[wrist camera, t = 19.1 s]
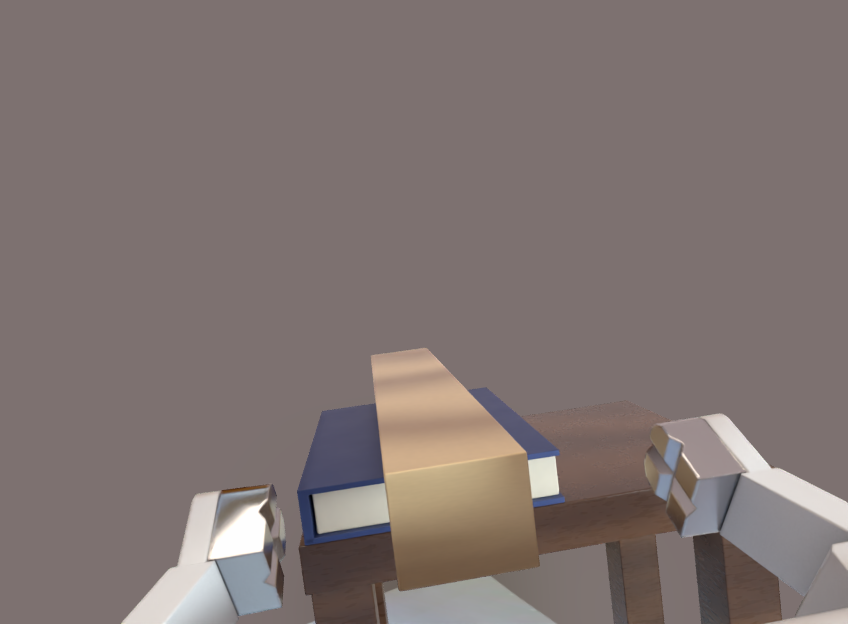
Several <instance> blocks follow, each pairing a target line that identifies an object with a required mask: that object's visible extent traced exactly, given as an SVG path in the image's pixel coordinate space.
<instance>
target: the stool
mask: <svg viewBox="0 0 848 624" xmlns="http://www.w3.org/2000/svg"><path fill="white" fill-rule="evenodd" d="M521 418H522V419H524V420H525V421H526V422H527V423H528V424H529V425H531V426H532V427H533V428H534V429H535V430H537V431H538V432H539V433H540V434H541V435H542V436H544V437H545V438H546V439H547V440H548V441H549V442H551V443H552V444H553V445H554V446H555V447H556V448H558V449H559V453H560V455H558V456H555V459H556V468H557V477H558V485H559V492H560V493H561V494H562V495H563V496H564V498H565V502H564V503H558V504H552V505H546V506H540V507H534V508H533V510H534V518H535V527H536V536H537V545H538V553H539V555H541V554H546V553H552V552H558V551H563V550H569V549H575V548H581V547H586V546H592V545H598V544H603V543H605V544H606V553H607V562H608V571H609V581H610V590H611V600H612V609H613V618H614V624H664V615H663V606H662V596H661V586H660V577H659V566H658V557H657V546H656V536H655V534H660V533H666V532H672V531H677V530H676V528H675V527H674V525H673V523H672V522H671V520H670V518H669V517H668V515H667V514H666V512H665V510H666V504H667V501H665V500H663V499H662V498H660V497H659V496H657V495H655V494H654V492H653V490H652V488H651V487H650V485H649V482H648V480H647V477H646V474H645V467H644V459H645V453H646V451H647V450H648V449H649V448H650V447H651V446H652V445H653V442H652V441H651V439H650V438H649V435H650V430H651V428H652V427H653V425H654V424H658V423H664V422H670V421H671V420H669V419H667V418H664V417H662V416H660V415H658V414H655V413H653V412H651V411H649V410H647V409H644V408H642V407H640V406H638V405H635V404H633V403H631V402H628V401H621V402H614V403H607V404H601V405H595V406H587V407H581V408H574V409H568V410H562V411H554V412H548V413H541V414H534V415H528V416H522V417H521ZM768 465H769V464H768ZM769 466H770V467H771V468H775V467H774V466H771V465H769ZM693 542H694V552H695V562H696V572H697V583H698V593H699V603H700V614H701V624H765V623H770V622H775V621H780V620H782V615H781V604H780V594H779V581H778V577H777V576H775V575H774V574H773V573H771V572H770V571H769V570H767V569H766V568H765V567H763V566H762V565H761V564H759V563H758V562H756V561H755V560H754V559H752V558H751V557H750V556H748V555H747V554H746V553H744V552H743V551H742V550H740V549H739V548H738V547H736V546H735V545H734V544H732V543H731V542H730V541H728V540H727V539H725V538H724V537H723V536H721V535H720V532H716V533H710V534H703V535H696V536H693ZM299 553H300V560H301V568H302V575H303V582H304V589H305V594H306V595H312V602H313V609H314V616H315V623H316V624H388V617H387V609H386V602H385V594H384V587H383V582H386V581H392V580H397V574H396V566H395V558H394V551H393V543H392V536H391V531H390V532H384V533H378V534H372V535H366V536H360V537H354V538H348V539H342V540H336V541H330V542H324V543H318V544H312V545H306V546H305V543H304V536H303V532H302V537H301V541H300V546H299Z"/></svg>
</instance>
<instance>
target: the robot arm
mask: <svg viewBox="0 0 848 624" xmlns="http://www.w3.org/2000/svg"><path fill="white" fill-rule="evenodd" d="M649 438H650V439H651V441H652V442H653V445H652V446H651V447H650V448H649V449H648V450H647V451H646V453H645V459H644V467H645V474H646V477H647V480H648V482H649V485H650V487H651V488H652V490H653V492H654V494H655V495H657V496H659V497H660V498H662V499H663V500H665V501H667V504H666V510H665V512H666V514H667V515H668V517H669V518H670V520H671V522H672V523H673V525H674V527H675V528H676V530H677V531H678V533H679V535H680V537H681V538H682V537H689V536H696V535H703V534H710V533H716V532H720V535H721V536H723V537H724V538H725V539H727V540H728V541H730V542H731V543H732V544H734V545H735V546H736V547H738V548H739V549H740V550H742V551H743V552H744V553H746V554H747V555H748V556H750V557H751V558H752V559H754V560H755V561H756V562H758V563H759V564H761V565H762V566H763V567H765V568H766V569H767V570H769V571H770V572H771V573H773V574H774V575H775V576H777V577H778V578H779V579H781V580H782V581H783V582H785V583H786V584H788V585H789V586H790V587H792V588H793V589H794V590H796V591H797V592H799V593H800V594H801V595H802V596H804V599H803V601H802V603H801V605H800V606H799V608H798V610H797V612H796V614H795V617H794V618H791V619H785V620H780V621H775V622H770V623H765V624H848V502H845V501H844V500H842V499H840V498H838V497H836V496H833V495H832V494H830V493H828V492H826V491H823V490H822V489H819V488H818V487H816V486H814V485H812V484H810V483H808V482H806V481H804V480H802V479H800V478H798V477H796V476H794V475H792V474H790V473H788V472H786V471H784V470H782V469H780V468H771V467H770V466H769V465H768V464H767V462H766V461H765V460H764V459H763V458H762V457H761V456H760V455H759V453H758V452H757V451H756V450H755V448H754V447H753V446H752V445H751V444H750V443H749V442H748V440H747V439H746V438H745V437H744V436H743V434H742V433H741V432H740V431H739V430H738V429H737V428H736V426H735V425H734V424H733V423H732V422H731V420H730V419H729V418H728V417H727V416H725V415H723V414H721V413H720V414H714V415H708V416H702V417H698V418H697V417H694V418H688V419H682V420H676V421H670V422H664V423H658V424H654V425H653V427H652V428H651V430H650V435H649ZM276 496H277V495H276V492H275V489H274V487H273V484H266V485H259V486H251V487H243V488H235V489H227V490H222V491H214V492H207V493H200V494H196V495H195V497H194V499H193V500H192V503H191V508H190V512H189V517H188V521H187V525H186V530H185V534H184V539H183V543H182V547H181V552H180V556H179V561H178V565H177V567H173V568H169V569H168V570H167V572H166V573H165V574H164V575H163V576H162V577H161V578H160V580H159V581H158V582H157V583H156V584H155V585H154V587H153V588H152V589H151V590H150V591H149V592H148V593H147V594H146V596H145V597H144V598H143V599H142V600H141V601H140V602H139V603H138V605H137V606H136V607H135V608H134V609H133V610H132V612H131V613H130V614H129V615H128V616H127V617H126V618H125V619H124V621H123V622H122V623H121V624H236V623H237V621H238V619H239V618H238V616H241V615H246V614H251V613H256V612H261V611H266V610H271V609H276V608H281V607H282V600H283V584H284V575H283V571H282V568H281V565H280V562H281V561H282V559H283V558H284V556H285V543H286V541H285V526H284V521H283V516H282V512H281V509H279V508H277V507H276Z"/></svg>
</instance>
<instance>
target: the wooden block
mask: <svg viewBox="0 0 848 624" xmlns="http://www.w3.org/2000/svg"><path fill="white" fill-rule="evenodd" d="M371 363H372V372H373V381H374V390H375V399H376V409H377V418H378V428H379V437H380V446H381V456H382V465H383V474H384V482H385V490H386V498H387V505H388V513H389V520H390V528H391V536H392V543H393V551H394V558H395V566H396V574H397V581H398V589H399V591H407V590H412V589H418V588H424V587H429V586H435V585H440V584H446V583H452V582H457V581H463V580H469V579H474V578H480V577H486V576H491V575H497V574H502V573H508V572H514V571H520V570H525V569H530V568H536V567H539V566H540V563H539V553H538V545H537V536H536V527H535V518H534V510H533V501H532V492H531V484H530V475H529V466H528V457H527V452H526V451H525V450H524V449H523V448H522V447H521V446H520V445H519V444H518V443H517V442H516V441H515V440H514V438H513V437H512V436H511V435H510V434H509V433H508V432H507V431H506V430H505V429H504V428H503V427H502V426H501V425H500V424H499V423H498V422H497V421H496V420H495V419H494V418H493V417H492V416H491V415H490V414H489V412H488V411H487V410H486V409H485V408H484V407H483V406H482V405H481V404H480V403H479V402H478V401H477V400H476V399H475V398H474V397H473V396H472V395H471V394H470V393H469V392H468V391H467V390H466V389H465V388H464V387H463V385H462V384H461V383H460V382H459V381H458V380H457V379H456V378H455V377H454V376H453V375H452V374H451V373H450V372H449V371H448V370H447V369H446V368H445V367H444V366H443V365H442V364H441V363H440V362H439V360H438V359H437V358H436V357H435V356H434V355H433V354H432V353H431V352H430V351H429V350H428V349H427V348H422V349H415V350H407V351H400V352H393V353H386V354H378V355H371Z"/></svg>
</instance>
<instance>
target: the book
mask: <svg viewBox="0 0 848 624" xmlns="http://www.w3.org/2000/svg"><path fill="white" fill-rule="evenodd" d="M467 391H468V392H469V393H470V394H471V395H472V396H473V397H474V398H475V399H476V400H477V401H478V402H479V403H480V404H481V405H482V406H483V407H484V408H485V409H486V410H487V411H488V412H489V414H490V415H491V416H492V417H493V418H494V419H495V420H496V421H497V422H498V423H499V424H500V425H501V426H502V427H503V428H504V429H505V430H506V431H507V432H508V433H509V434H510V435H511V436H512V437H513V438H514V440H515V441H516V442H517V443H518V444H519V445H520V446H521V447H522V448H523V449H524V450H525V451H526V452H527V457H528V466H529V475H530V484H531V492H532V501H533V508H534V507H540V506H546V505H552V504H558V503H564V502H565V498H564V496H563V495H562V494H561V493H560V492H559V485H558V477H557V468H556V459H555V456H558V455H560V453H559V449H558V448H556V447H555V446H554V445H553V444H552V443H551V442H549V441H548V440H547V439H546V438H545V437H544V436H542V435H541V434H540V433H539V432H538V431H537V430H535V429H534V428H533V427H532V426H531V425H529V424H528V423H527V422H526V421H525V420H524V419H522V418H521V417H520V416H519V415H518V414H517V413H515V412H514V411H513V410H512V409H511V408H509V407H508V406H507V405H506V404H505V403H504V402H503V401H501V400H500V399H499V398H498V397H497V396H495V395H494V394H493V393H492V392H491V391H490V390H489V389H487V388H479V389H472V390H467ZM297 494H298V500H299V507H300V515H301V522H302V529H303V536H304V543H305V546H306V545H312V544H318V543H324V542H330V541H336V540H342V539H348V538H354V537H360V536H366V535H372V534H378V533H384V532H390V531H391V528H390V520H389V513H388V505H387V498H386V490H385V482H384V474H383V465H382V456H381V446H380V437H379V428H378V418H377V409H376V403H375V404H369V405H362V406H355V407H348V408H341V409H334V410H327V411H322V413H321V417H320V420H319V423H318V426H317V429H316V433H315V436H314V439H313V442H312V445H311V449H310V452H309V455H308V458H307V461H306V465H305V468H304V471H303V474H302V478H301V481H300V484H299V487H298V490H297Z"/></svg>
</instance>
